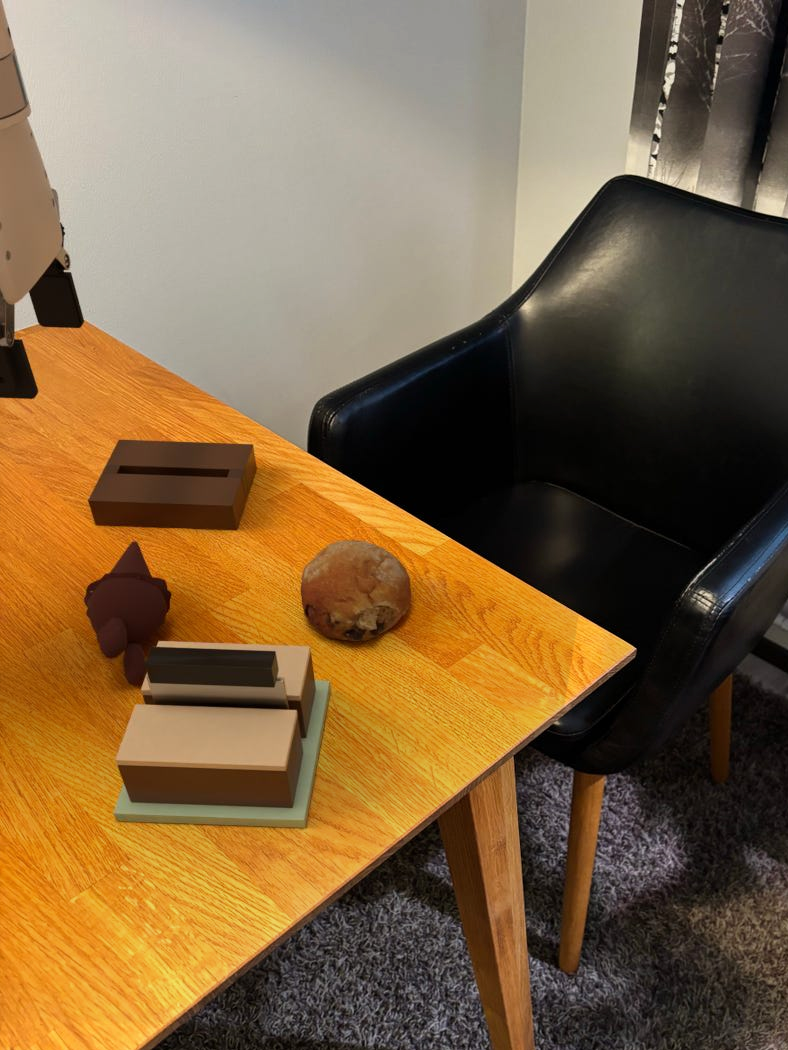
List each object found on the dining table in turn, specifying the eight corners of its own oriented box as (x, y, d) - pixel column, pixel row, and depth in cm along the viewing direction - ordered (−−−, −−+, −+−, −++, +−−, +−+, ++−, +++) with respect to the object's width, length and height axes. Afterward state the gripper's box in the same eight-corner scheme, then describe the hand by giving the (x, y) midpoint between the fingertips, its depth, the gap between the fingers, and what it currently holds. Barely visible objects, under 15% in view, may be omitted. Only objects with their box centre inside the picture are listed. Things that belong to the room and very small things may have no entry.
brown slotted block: (95, 525, 99) (87, 500, 96) (125, 463, 106) (118, 439, 104) (237, 530, 99) (232, 505, 96) (257, 468, 106) (253, 444, 104)
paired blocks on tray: (116, 821, 74) (96, 770, 70) (163, 682, 84) (148, 631, 80) (305, 828, 74) (297, 778, 70) (330, 688, 84) (324, 637, 80)
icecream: (75, 526, 88) (55, 656, 79) (154, 504, 88) (143, 632, 78) (114, 577, 94) (99, 705, 84) (189, 557, 93) (183, 683, 83)
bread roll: (418, 619, 95) (425, 538, 93) (393, 655, 86) (400, 565, 83) (317, 605, 96) (321, 524, 94) (282, 638, 87) (285, 549, 84)
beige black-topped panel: (163, 749, 77) (137, 663, 71) (169, 731, 79) (144, 645, 72) (292, 754, 77) (278, 669, 71) (296, 736, 79) (282, 651, 72)
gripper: (-49, 45, 64) (29, 300, 76) (-185, 138, 52) (-66, 425, 64) (68, 49, 64) (127, 304, 76) (-40, 143, 52) (52, 429, 64)
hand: (39, 359), depth 70 cm, fingers open, 9 cm apart
